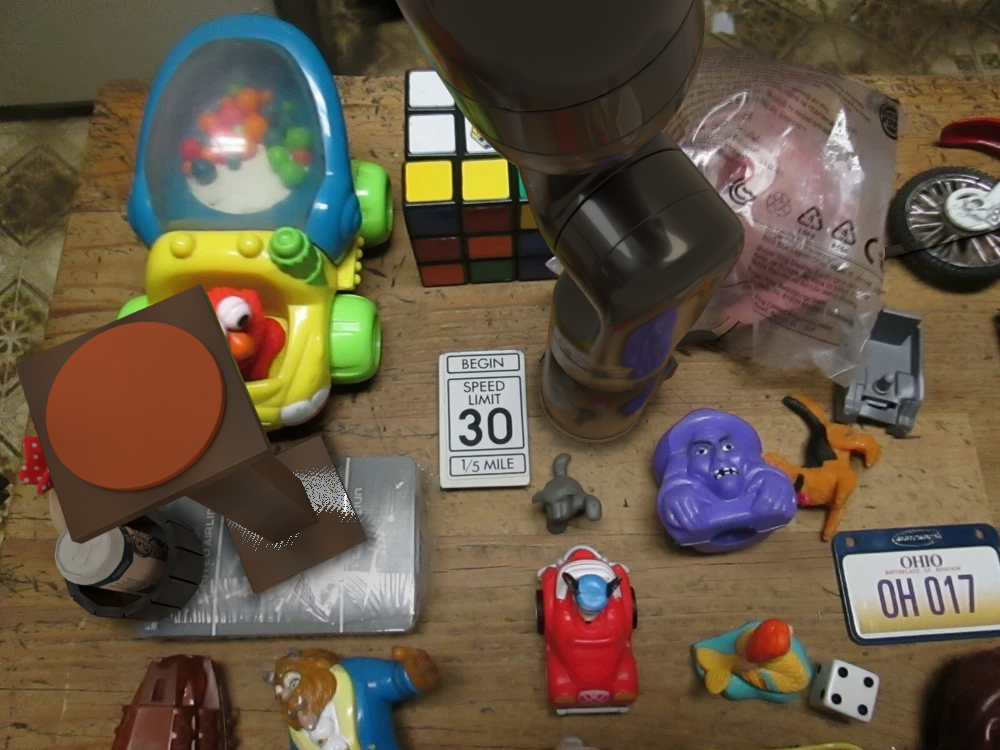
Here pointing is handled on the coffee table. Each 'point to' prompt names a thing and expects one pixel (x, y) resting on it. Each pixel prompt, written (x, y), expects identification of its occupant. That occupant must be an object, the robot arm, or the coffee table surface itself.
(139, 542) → the beer can
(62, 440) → the disc
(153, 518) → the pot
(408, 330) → the coffee table surface
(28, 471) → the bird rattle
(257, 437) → the stand
